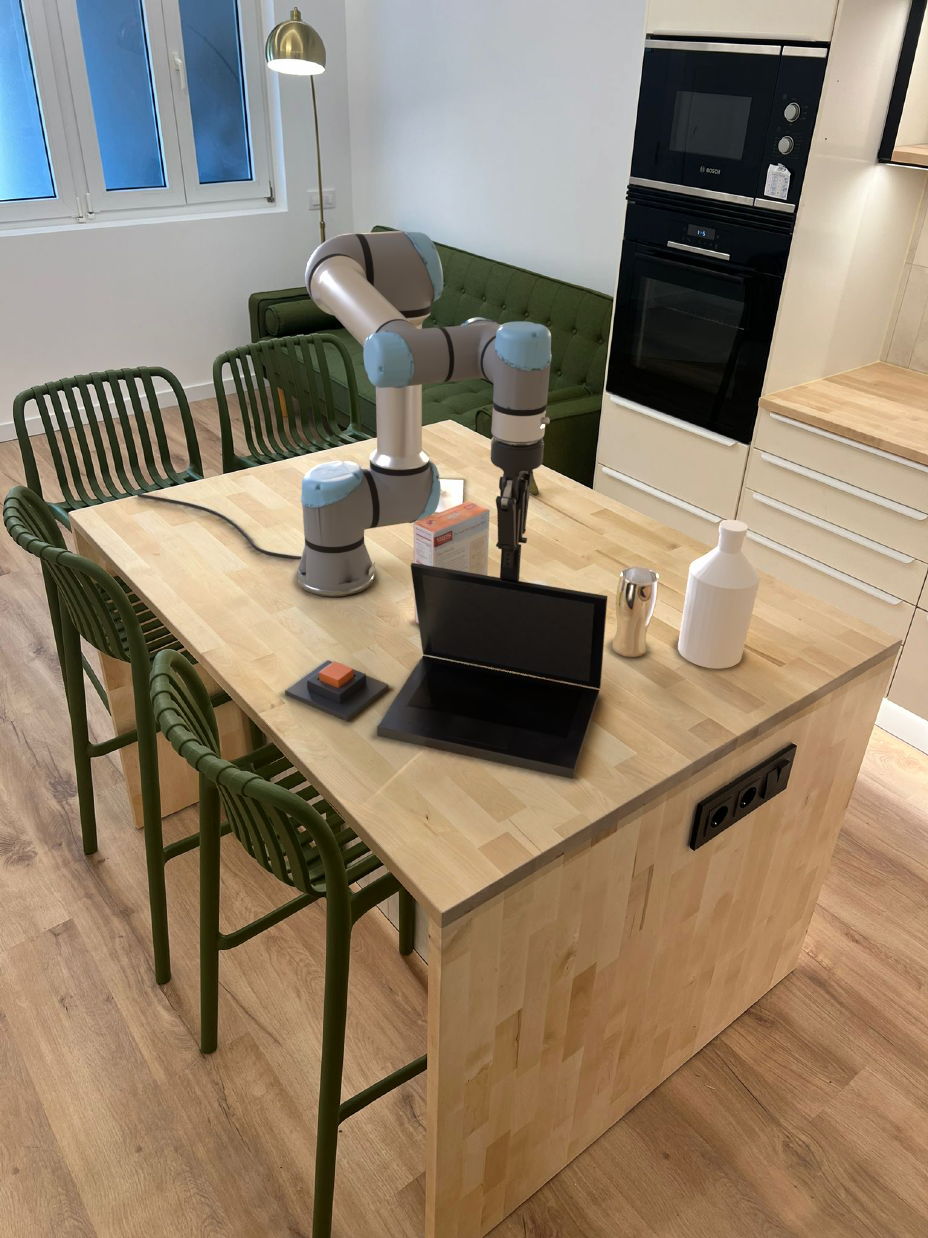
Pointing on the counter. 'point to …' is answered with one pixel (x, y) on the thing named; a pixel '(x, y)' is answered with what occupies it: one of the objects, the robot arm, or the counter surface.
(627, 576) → the beer glass
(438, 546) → the cracker box
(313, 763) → the counter surface
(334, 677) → the key
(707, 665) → the bottle
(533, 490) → the lime
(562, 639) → the laptop screen
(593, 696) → the laptop
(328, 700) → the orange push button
